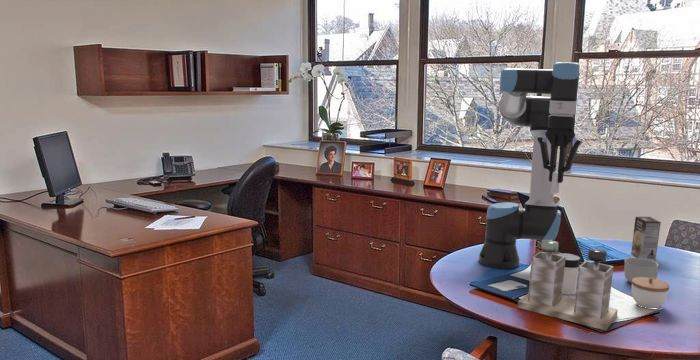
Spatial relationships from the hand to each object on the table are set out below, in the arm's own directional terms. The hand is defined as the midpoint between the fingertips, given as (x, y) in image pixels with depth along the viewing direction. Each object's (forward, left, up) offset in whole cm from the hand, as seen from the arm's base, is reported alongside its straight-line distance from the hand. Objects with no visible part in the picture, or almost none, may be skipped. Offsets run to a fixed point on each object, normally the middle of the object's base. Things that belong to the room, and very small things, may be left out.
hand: (554, 192), depth 177 cm
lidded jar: (+26, +22, -37) cm, 50 cm away
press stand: (+7, 0, -36) cm, 37 cm away
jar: (+1, +18, -37) cm, 41 cm away
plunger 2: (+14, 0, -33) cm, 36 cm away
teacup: (+19, +45, -37) cm, 61 cm away
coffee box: (+15, +79, -37) cm, 88 cm away
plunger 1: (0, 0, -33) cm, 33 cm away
